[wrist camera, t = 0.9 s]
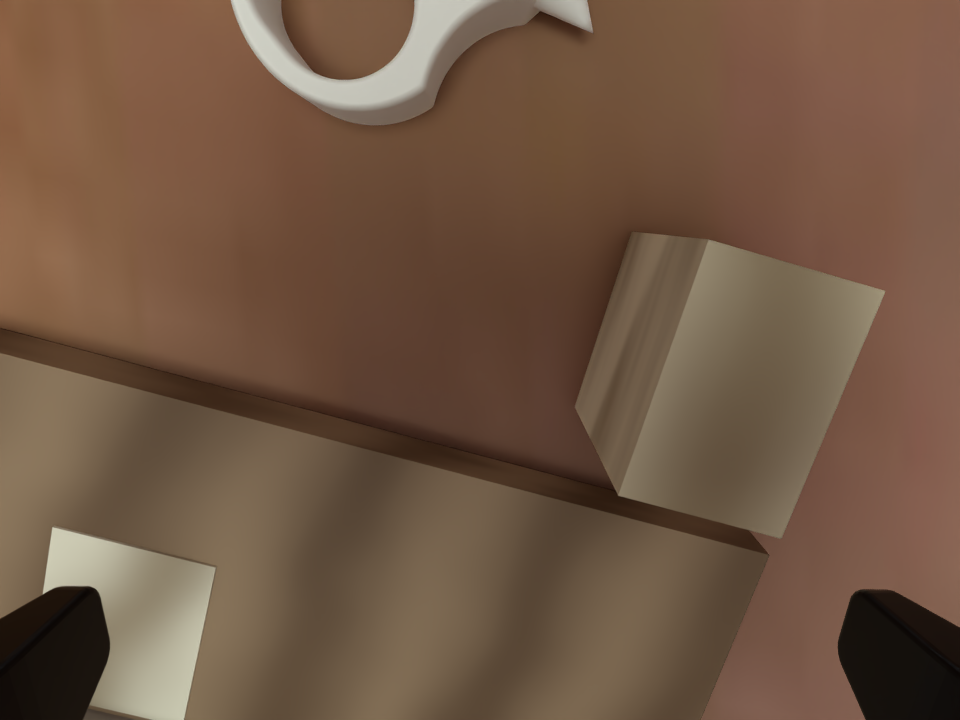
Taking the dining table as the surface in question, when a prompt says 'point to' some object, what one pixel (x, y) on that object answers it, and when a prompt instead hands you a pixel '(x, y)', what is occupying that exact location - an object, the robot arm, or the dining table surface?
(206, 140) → the dining table surface
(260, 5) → the white muffin tray
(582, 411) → the block
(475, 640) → the walnut board
